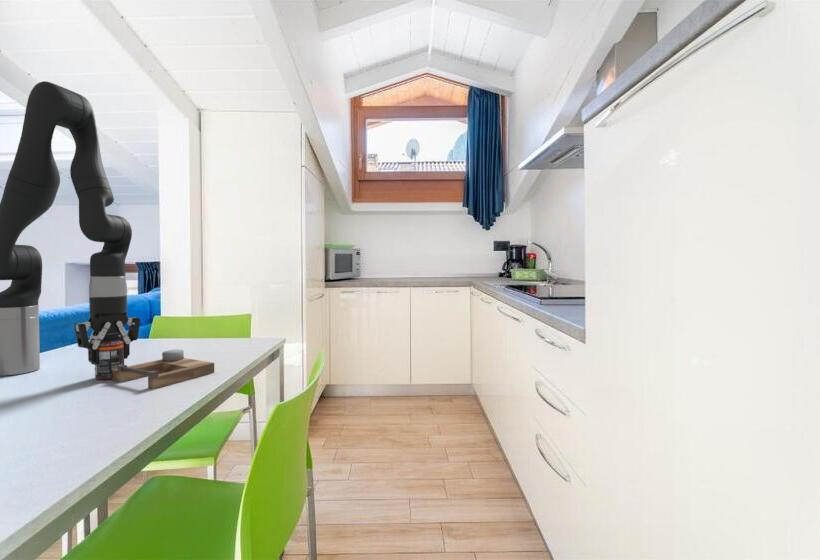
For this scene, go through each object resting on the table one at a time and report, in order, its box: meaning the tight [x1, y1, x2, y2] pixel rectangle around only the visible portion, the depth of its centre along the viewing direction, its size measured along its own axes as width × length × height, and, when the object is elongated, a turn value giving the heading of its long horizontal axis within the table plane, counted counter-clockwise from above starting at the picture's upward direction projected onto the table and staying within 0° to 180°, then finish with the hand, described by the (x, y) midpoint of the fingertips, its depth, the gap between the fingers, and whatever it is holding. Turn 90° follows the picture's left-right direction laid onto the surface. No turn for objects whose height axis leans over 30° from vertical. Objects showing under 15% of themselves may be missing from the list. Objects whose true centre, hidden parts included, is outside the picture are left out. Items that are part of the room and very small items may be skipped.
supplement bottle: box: [94, 332, 125, 381], centre depth 100 cm, size 6×6×11 cm
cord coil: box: [161, 348, 185, 362], centre depth 109 cm, size 5×5×2 cm
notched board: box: [112, 357, 215, 390], centre depth 102 cm, size 16×16×4 cm
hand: (109, 360), depth 100 cm, fingers closed on supplement bottle, 6 cm apart
